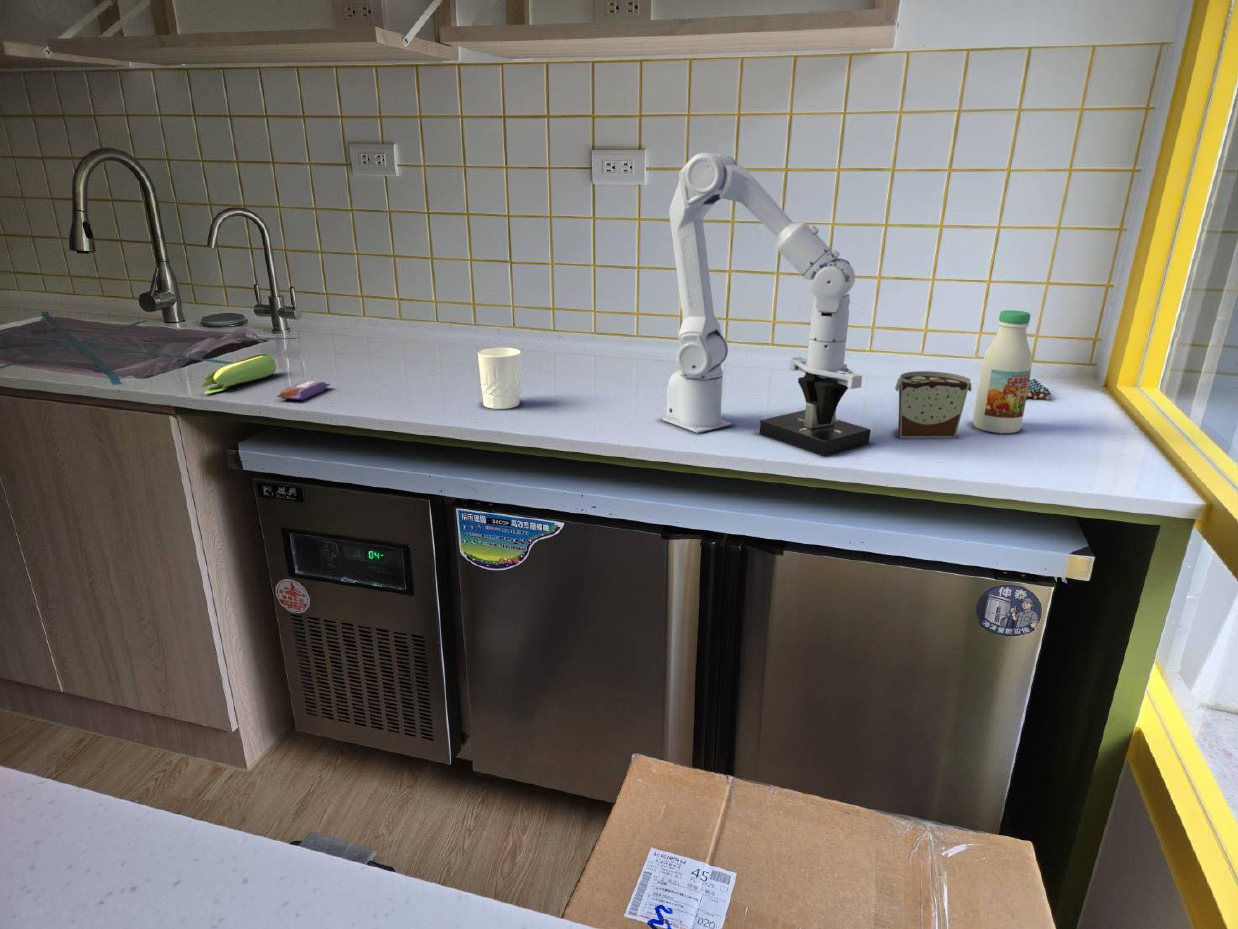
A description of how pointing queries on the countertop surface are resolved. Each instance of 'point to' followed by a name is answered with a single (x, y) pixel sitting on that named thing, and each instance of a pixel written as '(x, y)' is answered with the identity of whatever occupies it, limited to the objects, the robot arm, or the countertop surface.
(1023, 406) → the milk bottle
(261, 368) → the edible corn
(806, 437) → the panel
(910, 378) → the food container
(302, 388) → the snack package
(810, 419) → the grey upright block
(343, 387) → the countertop surface
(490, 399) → the white cup
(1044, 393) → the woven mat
